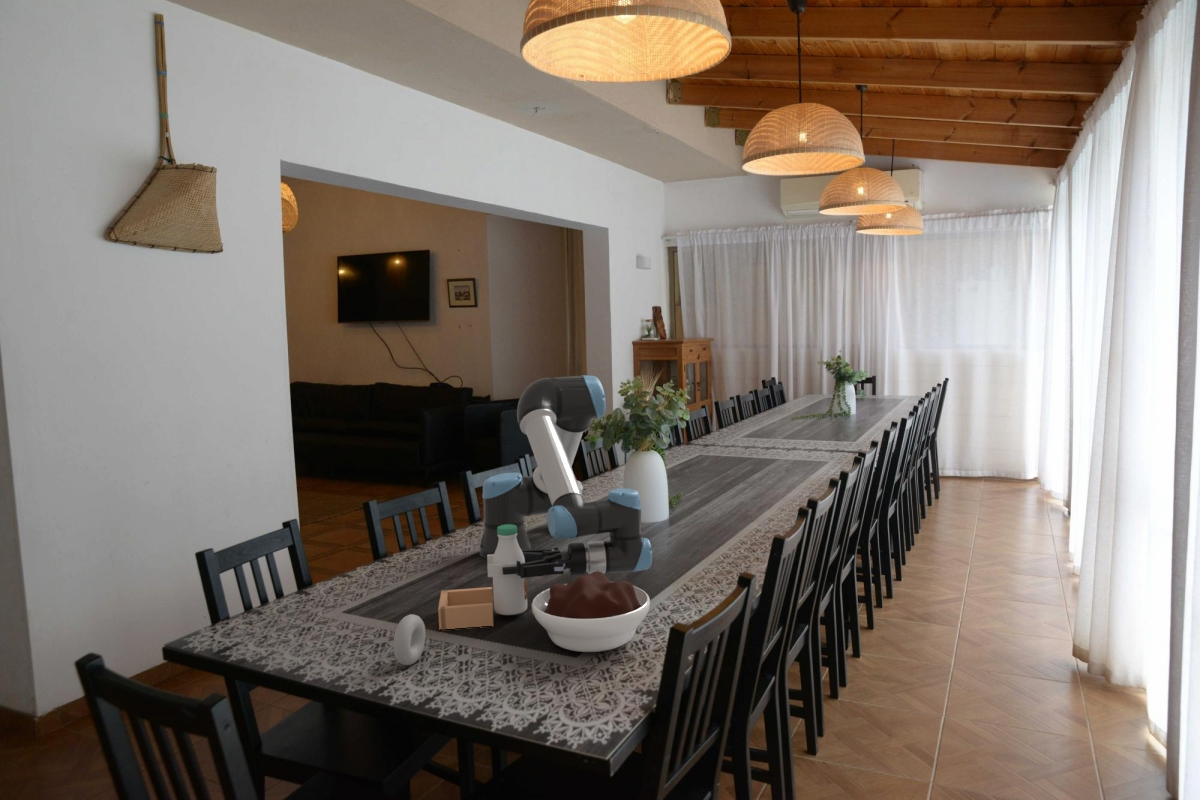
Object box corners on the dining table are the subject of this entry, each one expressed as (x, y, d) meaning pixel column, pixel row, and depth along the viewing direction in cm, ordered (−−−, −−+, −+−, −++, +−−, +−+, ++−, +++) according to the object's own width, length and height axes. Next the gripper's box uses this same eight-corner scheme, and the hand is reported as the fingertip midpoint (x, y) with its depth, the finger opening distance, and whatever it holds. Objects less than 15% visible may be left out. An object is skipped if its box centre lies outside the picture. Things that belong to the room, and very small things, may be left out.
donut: (407, 674, 165) (404, 625, 164) (391, 673, 165) (388, 624, 165) (429, 654, 174) (427, 607, 173) (414, 653, 175) (412, 606, 174)
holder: (493, 607, 202) (492, 586, 201) (493, 626, 189) (492, 604, 189) (442, 611, 200) (441, 590, 200) (439, 630, 187) (438, 609, 187)
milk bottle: (522, 616, 191) (518, 530, 189) (489, 615, 192) (485, 530, 190) (531, 605, 198) (527, 522, 196) (500, 604, 200) (496, 521, 198)
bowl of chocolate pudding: (543, 621, 191) (541, 556, 190) (653, 621, 189) (651, 556, 187) (522, 666, 167) (519, 592, 165) (648, 667, 164) (646, 592, 163)
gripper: (591, 587, 187) (488, 595, 184) (581, 561, 207) (487, 568, 204) (590, 554, 186) (487, 562, 183) (580, 532, 206) (486, 538, 203)
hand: (487, 565), depth 194 cm, fingers closed on milk bottle, 7 cm apart
